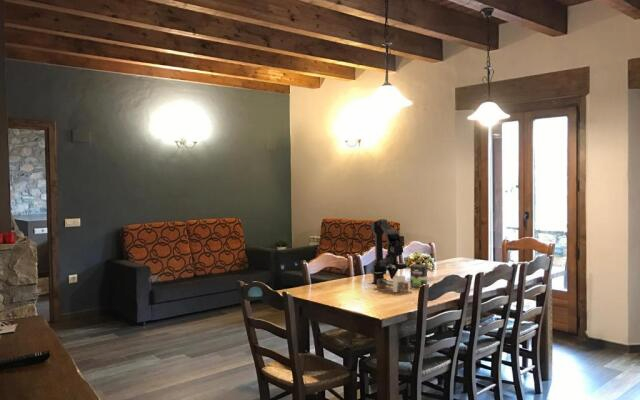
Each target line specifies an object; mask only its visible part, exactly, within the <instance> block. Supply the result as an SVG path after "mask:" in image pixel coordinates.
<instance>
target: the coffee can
mask: <svg viewBox="0 0 640 400" xmlns="http://www.w3.org/2000/svg"><path fill="white" fill-rule="evenodd" d="M409 267H410V281H409V283H410V285H409V286H410V289H411V290H415V291H416V290H417V291H420V290H419V288H420V286H421V285H423V284H427V285H428V265H427V264H422V263H421V264H420V263H418V264H417V263H416V264H415V263H413V264H410V266H409Z"/></svg>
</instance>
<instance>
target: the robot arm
mask: <svg viewBox="0 0 640 400" xmlns="http://www.w3.org/2000/svg"><path fill="white" fill-rule="evenodd" d="M370 228H371V233H372V234H373V235H374V246H375V247H374V248H375V249H374V250H375V251H374V255H375V259H374V261H373V262H372V266H371V269H370V273H371V275H373V279H372V280H373V281H372V282H371V284H373V285H377V279H383V278H385V275H387V271H388V273H389V278H390V279H391V280H393V277H395V276H396V274H397V272H398V271H399V270H406V269H407V266H408V265H407V264H406V263H404V262H401V263H400V262H399V260H398V257H399V256H402V255H403V253H404V248H403V246H401V244H402V239H401V236H400V235H399V232H398V231H396V230H395V229H393V228H392V227H391V225H390V224H389V223H388V220H387V219H386V218H383V219H382V218H380V219H377V220H376V221H373V222H372V223H371V225H370ZM384 234H385V236H384V237H385V238H384V239H385V241H386V245H387V246H386V247H387V248H386V249H387V254H385V257H384V254H383V253H384V249H383V245H384V244H383V235H384Z"/></svg>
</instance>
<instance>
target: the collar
mask: <svg viewBox="0 0 640 400" xmlns="http://www.w3.org/2000/svg"><path fill="white" fill-rule="evenodd" d="M392 281H393V286H392V288H393V291H394V292H399V288H398V282H400V283H406V276H405V275H395V276H394V277H393V279H392Z"/></svg>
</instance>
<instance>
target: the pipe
mask: <svg viewBox="0 0 640 400" xmlns="http://www.w3.org/2000/svg"><path fill="white" fill-rule="evenodd" d="M381 284H384V285H386V286H387V287H393V280H390V279H389V280H388V279H386V280H384V279H382V280H381ZM399 284H400V282H398V288H399ZM403 287H406V286H405V285H403ZM404 289H405V288H404ZM392 293H395V292H392ZM392 293H391V294H392Z"/></svg>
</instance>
